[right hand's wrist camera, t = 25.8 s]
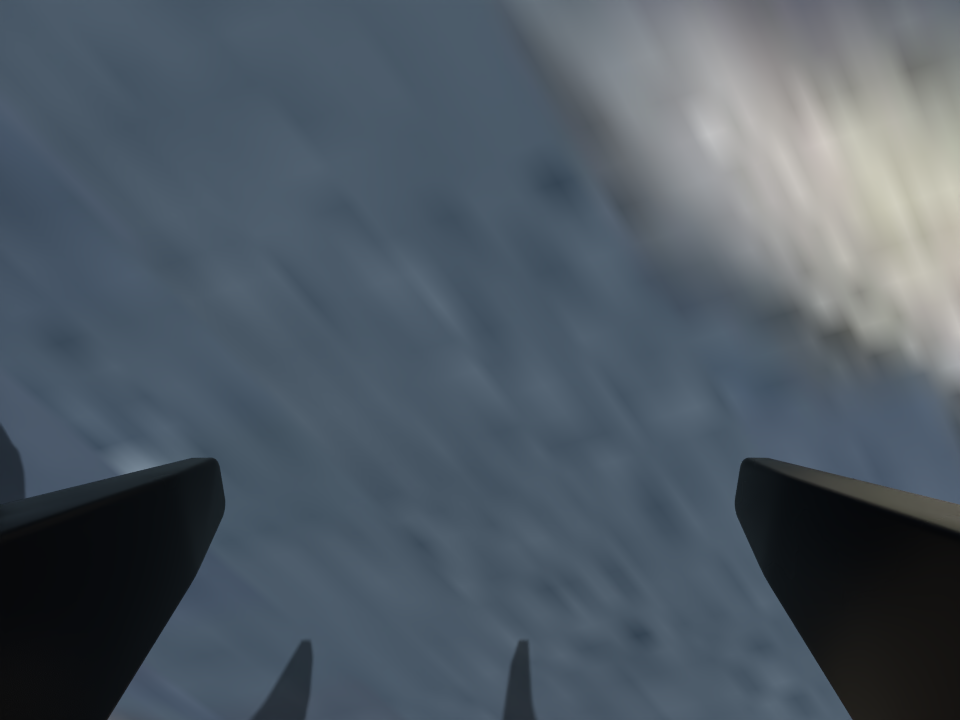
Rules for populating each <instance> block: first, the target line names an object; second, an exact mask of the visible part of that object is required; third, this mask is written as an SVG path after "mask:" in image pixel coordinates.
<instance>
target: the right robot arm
mask: <svg viewBox="0 0 960 720" xmlns="http://www.w3.org/2000/svg"><path fill="white" fill-rule="evenodd" d="M224 510H225V496H224V490H223V484H222V478H221V472H220V466H219V463H218V461H217V460H216V459H214V458H190V459H186V460H182V461H178V462H174V463H170V464H165V465H161V466H157V467H153V468H149V469H145V470H141V471H137V472H133V473H128V474H124V475H120V476H116V477H112V478H108V479H104V480H100V481H96V482H92V483H87V484H83V485H79V486H75V487H71V488H67V489H63V490H59V491H55V492H51V493H46V494H42V495H38V496H34V497H30V498H26V499H22V500H18V501H14V502H10V503H5V504H1V505H0V720H107V719H108V718H109V716H110V715H111V713H112V711H113V710H114V708H115V707H116V705H117V703H118V702H119V700H120V698H121V697H122V695H123V694H124V692H125V690H126V689H127V687H128V685H129V684H130V682H131V681H132V679H133V677H134V676H135V674H136V672H137V671H138V669H139V668H140V666H141V664H142V663H143V661H144V660H145V658H146V656H147V655H148V653H149V651H150V650H151V648H152V647H153V645H154V643H155V642H156V640H157V638H158V637H159V635H160V634H161V632H162V630H163V629H164V627H165V625H166V624H167V622H168V621H169V619H170V617H171V616H172V614H173V613H174V611H175V609H176V608H177V606H178V604H179V603H180V601H181V600H182V598H183V596H184V595H185V593H186V591H187V590H188V588H189V586H190V585H191V583H192V581H193V580H194V578H195V576H196V574H197V572H198V570H199V568H200V566H201V564H202V562H203V559H204V557H205V555H206V553H207V550H208V548H209V546H210V544H211V542H212V539H213V537H214V535H215V533H216V531H217V528H218V526H219V524H220V522H221V519H222V517H223V514H224ZM735 510H736V514H737V517H738V519H739V522H740V524H741V526H742V528H743V530H744V533H745V535H746V537H747V539H748V542H749V544H750V546H751V548H752V550H753V553H754V555H755V557H756V559H757V562H758V564H759V566H760V568H761V570H762V572H763V574H764V576H765V578H766V580H767V581H768V583H769V585H770V586H771V588H772V590H773V591H774V593H775V595H776V596H777V598H778V600H779V601H780V603H781V604H782V606H783V608H784V609H785V611H786V612H787V614H788V616H789V617H790V619H791V621H792V622H793V624H794V625H795V627H796V629H797V630H798V632H799V634H800V635H801V637H802V638H803V640H804V642H805V643H806V645H807V646H808V648H809V650H810V651H811V653H812V655H813V656H814V658H815V659H816V661H817V663H818V664H819V666H820V668H821V669H822V671H823V672H824V674H825V676H826V677H827V679H828V681H829V682H830V684H831V685H832V687H833V689H834V690H835V692H836V694H837V695H838V697H839V698H840V700H841V702H842V703H843V705H844V706H845V708H846V710H847V711H848V713H849V715H850V716H851V718H852V719H853V720H960V505H959V504H955V503H951V502H947V501H942V500H938V499H934V498H930V497H926V496H922V495H918V494H914V493H910V492H905V491H901V490H897V489H893V488H889V487H885V486H881V485H877V484H873V483H869V482H864V481H860V480H856V479H852V478H848V477H844V476H840V475H836V474H832V473H827V472H823V471H819V470H815V469H811V468H807V467H803V466H799V465H795V464H790V463H786V462H782V461H778V460H774V459H770V458H746V459H744V460H743V461H742V463H741V466H740V472H739V478H738V484H737V490H736V496H735Z"/></svg>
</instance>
